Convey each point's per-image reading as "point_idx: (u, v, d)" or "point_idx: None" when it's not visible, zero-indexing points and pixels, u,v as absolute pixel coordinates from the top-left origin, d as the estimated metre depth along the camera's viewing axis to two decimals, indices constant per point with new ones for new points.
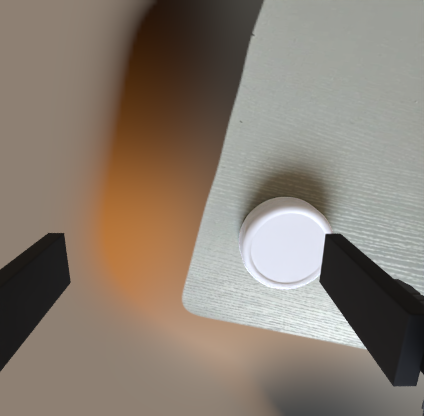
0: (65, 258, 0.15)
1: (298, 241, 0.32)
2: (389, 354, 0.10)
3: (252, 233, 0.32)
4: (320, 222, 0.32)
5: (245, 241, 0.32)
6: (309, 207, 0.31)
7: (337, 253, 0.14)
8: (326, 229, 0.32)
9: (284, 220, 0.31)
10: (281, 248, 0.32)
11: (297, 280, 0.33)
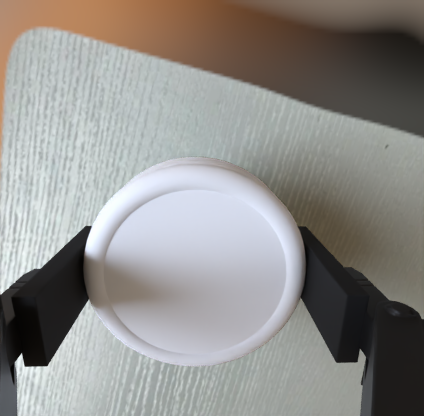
0: None
1: (214, 297, 0.14)
2: (333, 333, 0.11)
3: (240, 191, 0.12)
4: (259, 335, 0.14)
5: (217, 174, 0.12)
6: (293, 310, 0.14)
7: None
8: (242, 349, 0.15)
9: (269, 264, 0.13)
10: (198, 263, 0.13)
11: (112, 305, 0.14)
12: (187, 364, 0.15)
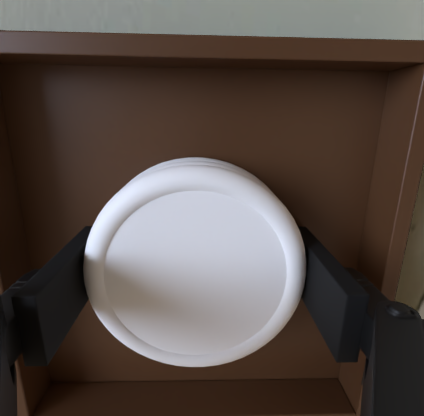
0: None
1: (215, 298, 0.14)
2: (334, 333, 0.11)
3: (240, 192, 0.12)
4: (259, 336, 0.14)
5: (217, 175, 0.12)
6: (293, 311, 0.14)
7: None
8: (242, 350, 0.15)
9: (270, 265, 0.13)
10: (198, 264, 0.13)
11: (112, 305, 0.14)
12: (187, 365, 0.15)
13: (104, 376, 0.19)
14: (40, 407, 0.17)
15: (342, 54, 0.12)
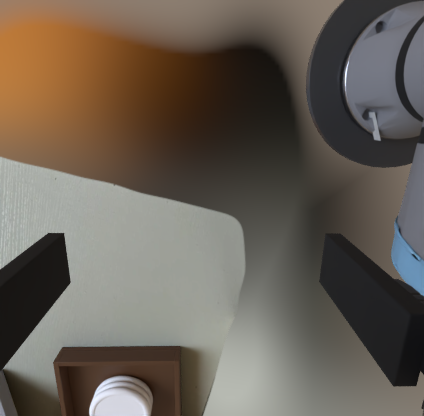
0: (65, 258, 0.15)
1: None
2: (389, 354, 0.10)
3: (129, 396, 0.49)
4: None
5: (122, 392, 0.49)
6: None
7: (337, 253, 0.14)
8: None
9: (139, 411, 0.50)
10: (119, 411, 0.50)
11: None
12: None
13: None
14: None
15: (152, 364, 0.48)
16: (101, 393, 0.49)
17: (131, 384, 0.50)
